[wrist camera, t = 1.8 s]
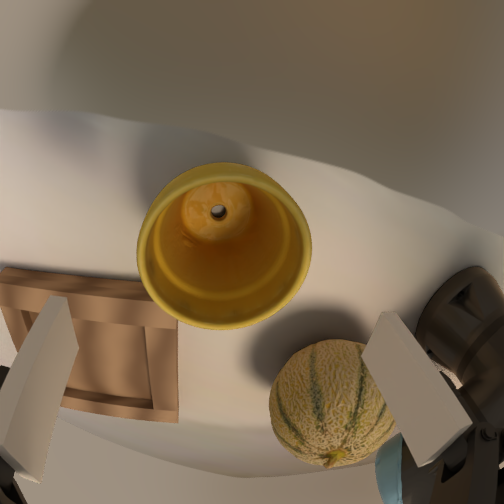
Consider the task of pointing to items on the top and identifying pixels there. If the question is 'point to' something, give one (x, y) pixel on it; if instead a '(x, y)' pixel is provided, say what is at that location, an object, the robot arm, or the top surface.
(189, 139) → the top surface
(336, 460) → the cantaloupe
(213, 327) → the plant pot
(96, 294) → the walnut tray
